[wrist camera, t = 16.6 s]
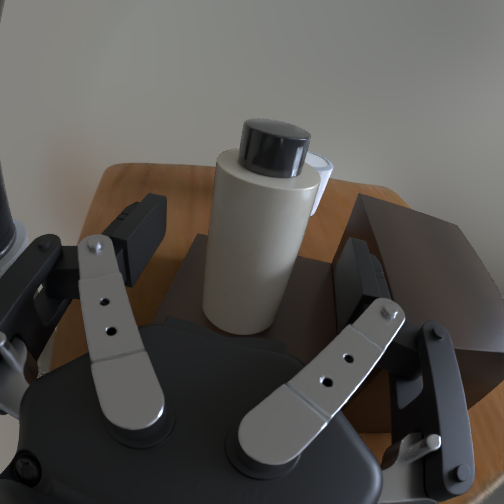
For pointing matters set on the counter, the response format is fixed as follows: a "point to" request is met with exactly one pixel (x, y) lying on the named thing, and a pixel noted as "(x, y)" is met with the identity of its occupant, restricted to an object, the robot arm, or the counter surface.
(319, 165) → the white short tapered cylinder
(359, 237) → the stepped wooden block
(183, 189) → the counter surface
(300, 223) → the white bottle
